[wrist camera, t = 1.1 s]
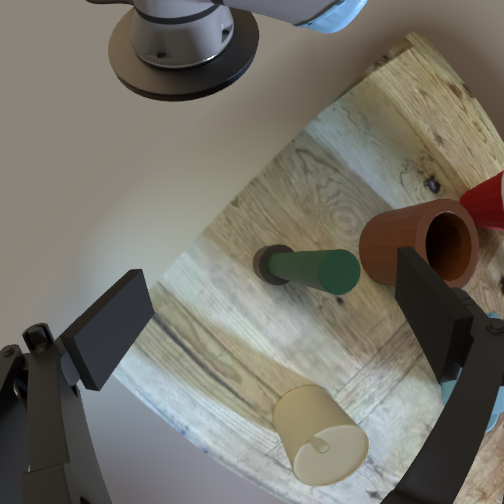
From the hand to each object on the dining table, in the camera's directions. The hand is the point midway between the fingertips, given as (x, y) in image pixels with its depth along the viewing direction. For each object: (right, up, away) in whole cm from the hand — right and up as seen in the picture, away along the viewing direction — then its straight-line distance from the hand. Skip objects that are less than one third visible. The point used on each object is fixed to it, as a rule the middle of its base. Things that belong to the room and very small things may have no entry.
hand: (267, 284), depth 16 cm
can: (+7, -21, +24) cm, 33 cm away
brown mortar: (+18, +2, +26) cm, 32 cm away
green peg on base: (+2, 0, +24) cm, 24 cm away
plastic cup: (+36, +9, +28) cm, 47 cm away
